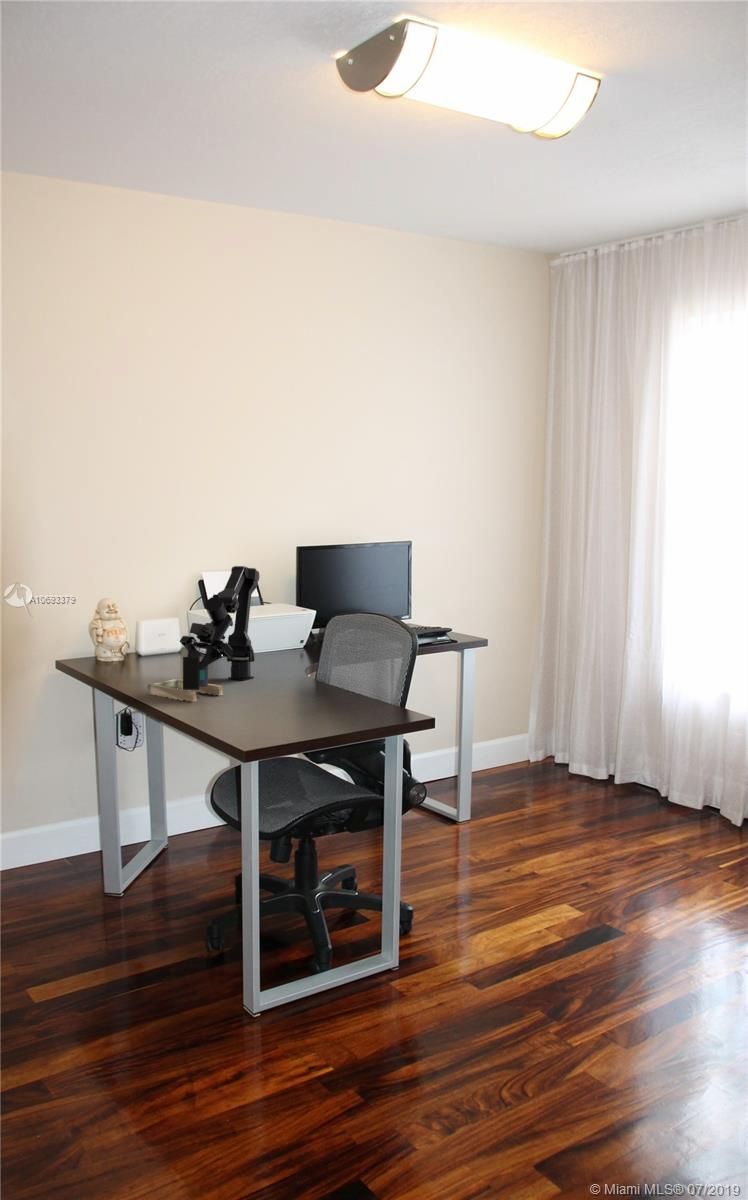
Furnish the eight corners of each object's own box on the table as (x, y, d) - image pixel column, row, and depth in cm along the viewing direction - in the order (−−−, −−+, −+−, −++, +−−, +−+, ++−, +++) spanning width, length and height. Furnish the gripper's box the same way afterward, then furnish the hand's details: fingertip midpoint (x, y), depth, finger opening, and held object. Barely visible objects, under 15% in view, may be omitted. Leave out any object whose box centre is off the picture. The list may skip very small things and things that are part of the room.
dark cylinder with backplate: (196, 690, 303) (196, 657, 303) (182, 690, 305) (181, 656, 305) (212, 688, 309) (211, 655, 309) (198, 688, 312) (197, 655, 312)
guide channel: (177, 687, 323) (177, 678, 322) (222, 695, 311) (222, 685, 310) (147, 694, 312) (147, 684, 312) (192, 702, 300) (192, 692, 300)
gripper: (183, 610, 314) (158, 649, 306) (225, 615, 303) (200, 655, 296) (201, 631, 321) (177, 670, 314) (243, 637, 310) (219, 677, 303)
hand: (193, 667), depth 306 cm, fingers closed on dark cylinder with backplate, 5 cm apart
